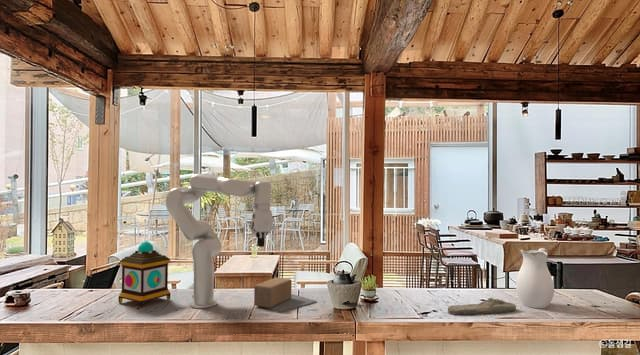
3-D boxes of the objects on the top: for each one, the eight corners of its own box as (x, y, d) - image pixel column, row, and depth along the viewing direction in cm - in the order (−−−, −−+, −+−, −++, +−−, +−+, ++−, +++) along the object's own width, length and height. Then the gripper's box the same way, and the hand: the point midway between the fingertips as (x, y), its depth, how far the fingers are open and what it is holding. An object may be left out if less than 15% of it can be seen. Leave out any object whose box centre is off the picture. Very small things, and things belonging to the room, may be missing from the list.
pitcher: (545, 312, 194) (545, 253, 195) (509, 304, 207) (509, 248, 207) (564, 303, 210) (564, 248, 210) (529, 296, 223) (529, 244, 223)
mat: (256, 304, 203) (256, 303, 203) (292, 295, 220) (292, 294, 220) (280, 312, 190) (280, 311, 190) (316, 302, 208) (316, 301, 208)
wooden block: (271, 308, 194) (292, 298, 212) (271, 287, 194) (292, 278, 212) (253, 305, 198) (275, 296, 216) (253, 284, 198) (275, 276, 216)
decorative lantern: (140, 310, 192) (141, 245, 193) (113, 303, 202) (114, 241, 203) (174, 299, 209) (175, 240, 210) (148, 294, 219) (149, 237, 220)
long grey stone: (442, 313, 196) (454, 321, 187) (442, 302, 196) (454, 310, 186) (507, 305, 204) (521, 312, 195) (507, 295, 204) (521, 301, 194)
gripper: (254, 208, 188) (253, 248, 188) (279, 207, 199) (277, 246, 199) (244, 207, 193) (243, 246, 193) (269, 206, 204) (267, 244, 204)
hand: (260, 246), depth 196 cm, fingers closed
